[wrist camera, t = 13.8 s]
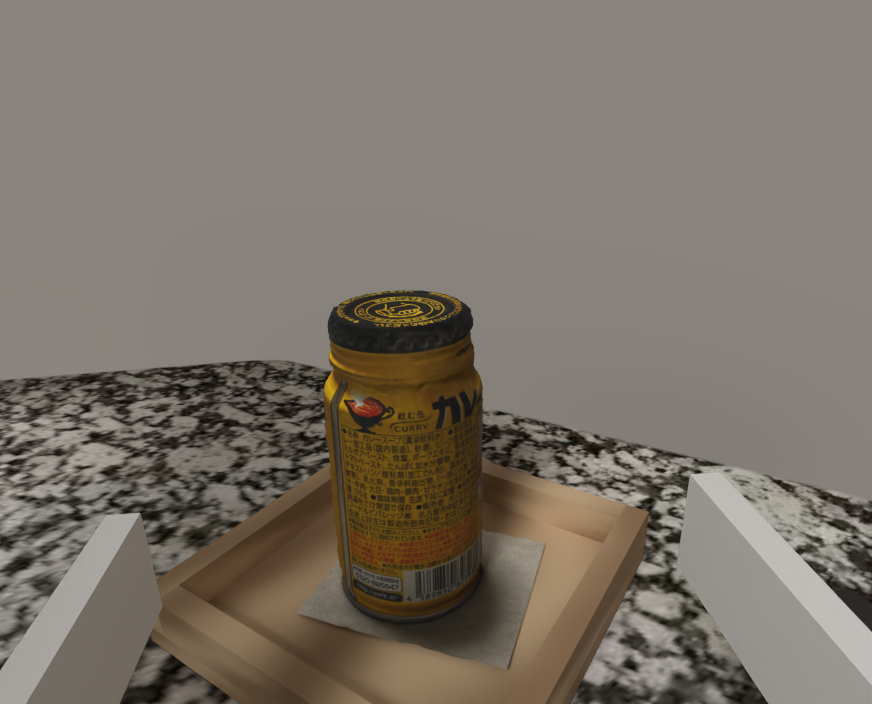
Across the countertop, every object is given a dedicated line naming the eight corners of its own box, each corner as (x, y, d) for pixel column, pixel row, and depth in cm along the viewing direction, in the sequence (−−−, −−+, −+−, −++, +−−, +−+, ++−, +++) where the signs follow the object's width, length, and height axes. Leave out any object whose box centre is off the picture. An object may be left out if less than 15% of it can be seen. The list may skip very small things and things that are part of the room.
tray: (152, 640, 24) (139, 590, 23) (384, 466, 36) (382, 428, 35) (483, 878, 17) (483, 816, 16) (643, 557, 28) (648, 511, 27)
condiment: (375, 511, 31) (359, 276, 26) (545, 546, 28) (558, 291, 23) (297, 617, 24) (257, 331, 20) (506, 677, 21) (514, 359, 17)
